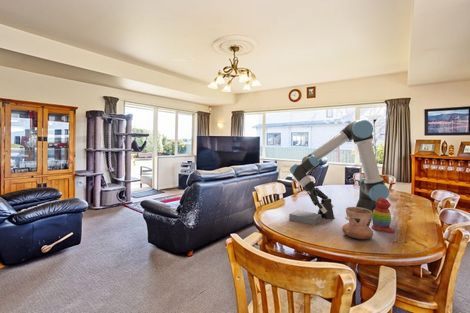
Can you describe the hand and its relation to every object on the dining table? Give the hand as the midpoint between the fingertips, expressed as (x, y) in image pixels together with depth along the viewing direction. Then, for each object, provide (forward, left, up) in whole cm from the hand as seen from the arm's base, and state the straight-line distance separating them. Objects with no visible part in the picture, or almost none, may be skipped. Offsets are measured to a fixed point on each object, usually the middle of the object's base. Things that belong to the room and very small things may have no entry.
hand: (329, 210), depth 163 cm
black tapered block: (+2, 0, -5) cm, 6 cm away
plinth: (+10, +14, -5) cm, 18 cm away
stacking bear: (-30, +2, -5) cm, 30 cm away
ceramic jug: (-22, +22, -5) cm, 31 cm away
